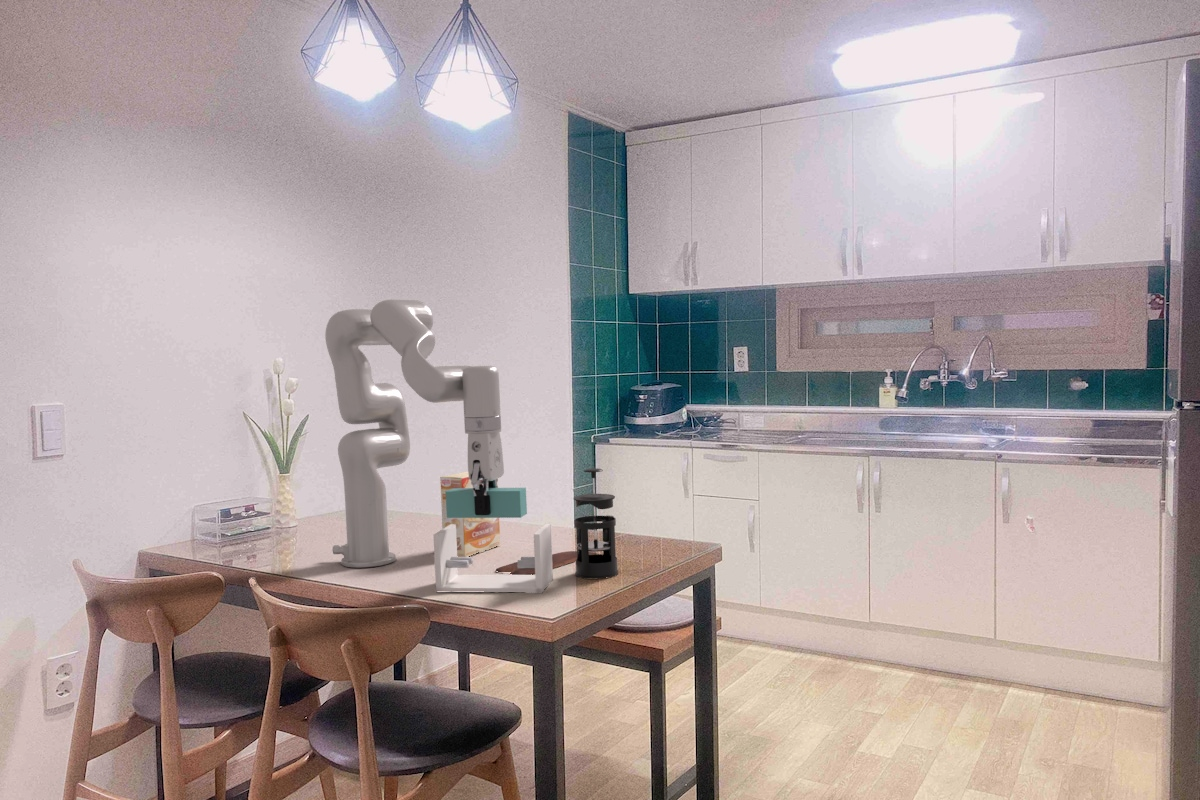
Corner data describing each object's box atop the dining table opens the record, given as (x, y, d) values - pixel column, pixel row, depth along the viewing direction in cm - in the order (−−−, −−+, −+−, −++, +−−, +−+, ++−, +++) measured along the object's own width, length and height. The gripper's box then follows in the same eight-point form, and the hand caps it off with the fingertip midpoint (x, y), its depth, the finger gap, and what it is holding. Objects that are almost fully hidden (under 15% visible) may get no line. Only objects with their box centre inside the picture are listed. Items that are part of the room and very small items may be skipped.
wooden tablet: (571, 545, 221) (602, 545, 215) (572, 554, 221) (603, 554, 215) (491, 568, 201) (522, 568, 195) (492, 578, 201) (523, 579, 195)
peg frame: (436, 592, 185) (433, 534, 184) (452, 579, 196) (450, 524, 195) (541, 593, 182) (539, 534, 181) (553, 579, 192) (550, 523, 192)
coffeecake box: (465, 558, 215) (462, 477, 214) (442, 556, 219) (438, 476, 218) (501, 546, 228) (498, 469, 227) (479, 544, 232) (476, 468, 231)
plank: (526, 513, 189) (525, 487, 188) (520, 517, 184) (519, 490, 184) (454, 513, 192) (453, 488, 192) (446, 517, 187) (445, 491, 187)
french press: (602, 581, 189) (598, 472, 188) (565, 577, 194) (561, 471, 193) (630, 569, 199) (626, 465, 198) (594, 565, 204) (590, 464, 203)
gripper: (487, 428, 178) (491, 520, 179) (511, 421, 195) (515, 505, 196) (451, 429, 180) (455, 520, 181) (478, 422, 196) (482, 505, 197)
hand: (486, 511), depth 188 cm, fingers closed on plank, 4 cm apart
